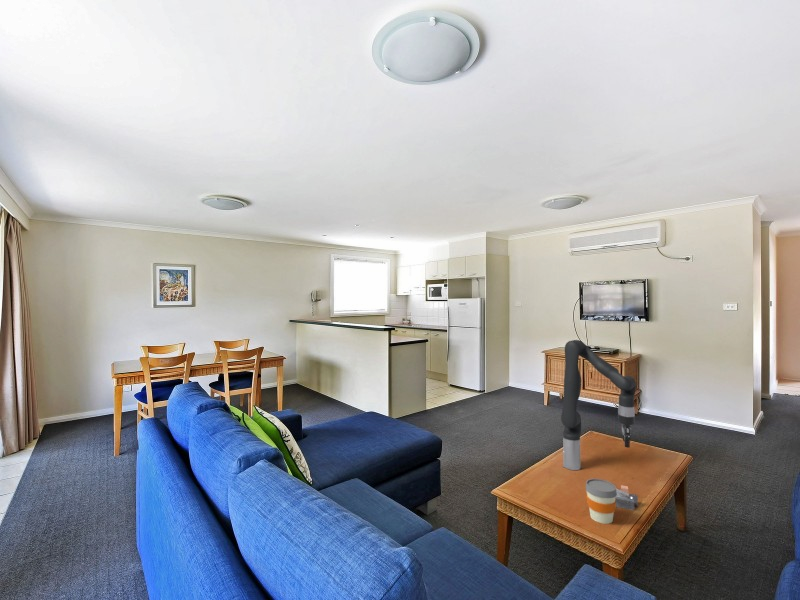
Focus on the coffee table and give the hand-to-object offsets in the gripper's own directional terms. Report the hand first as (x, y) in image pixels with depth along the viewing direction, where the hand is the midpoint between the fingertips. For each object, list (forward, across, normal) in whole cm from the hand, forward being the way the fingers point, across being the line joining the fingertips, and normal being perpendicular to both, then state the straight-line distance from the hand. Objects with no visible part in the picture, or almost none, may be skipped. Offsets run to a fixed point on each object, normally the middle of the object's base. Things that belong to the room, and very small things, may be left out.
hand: (626, 444), depth 202 cm
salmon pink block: (+21, +15, -2) cm, 26 cm away
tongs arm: (+21, +18, -5) cm, 28 cm away
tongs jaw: (+22, +26, -7) cm, 34 cm away
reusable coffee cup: (+22, +40, -14) cm, 47 cm away
